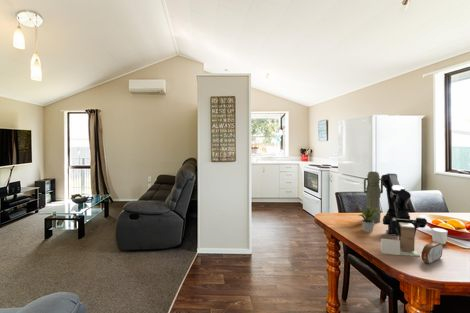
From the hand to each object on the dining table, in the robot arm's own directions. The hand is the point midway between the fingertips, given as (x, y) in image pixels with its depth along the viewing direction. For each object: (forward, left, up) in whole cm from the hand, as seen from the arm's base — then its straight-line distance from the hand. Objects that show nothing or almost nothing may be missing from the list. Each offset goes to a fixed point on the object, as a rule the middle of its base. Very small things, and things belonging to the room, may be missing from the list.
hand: (407, 236), depth 123 cm
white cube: (-20, +21, -8) cm, 30 cm away
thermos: (-52, -6, -8) cm, 53 cm away
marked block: (-1, 0, -7) cm, 7 cm away
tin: (+6, +9, -9) cm, 14 cm away
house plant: (-28, -12, -8) cm, 32 cm away
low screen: (+3, -8, -8) cm, 12 cm away
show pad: (-1, 0, -8) cm, 8 cm away
